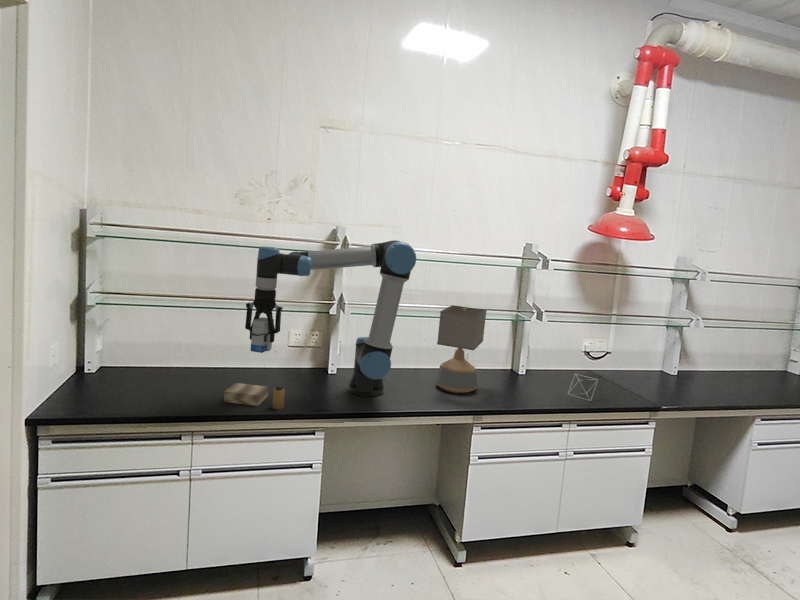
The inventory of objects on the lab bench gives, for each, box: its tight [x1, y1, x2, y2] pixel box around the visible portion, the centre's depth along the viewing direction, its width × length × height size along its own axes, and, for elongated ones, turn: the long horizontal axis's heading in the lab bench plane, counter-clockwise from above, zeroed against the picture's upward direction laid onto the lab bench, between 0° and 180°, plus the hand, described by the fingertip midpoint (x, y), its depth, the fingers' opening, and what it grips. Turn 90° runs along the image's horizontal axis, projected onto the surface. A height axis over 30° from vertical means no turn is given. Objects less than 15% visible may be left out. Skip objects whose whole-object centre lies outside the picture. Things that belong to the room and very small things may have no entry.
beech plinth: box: [223, 382, 269, 407], centre depth 204 cm, size 13×11×4 cm
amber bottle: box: [272, 384, 285, 410], centre depth 199 cm, size 4×4×8 cm
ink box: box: [249, 316, 275, 354], centre depth 202 cm, size 8×5×12 cm, turn 169°
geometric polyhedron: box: [567, 373, 599, 402], centre depth 247 cm, size 12×11×9 cm
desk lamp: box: [435, 304, 487, 394], centre depth 239 cm, size 22×19×37 cm
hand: (261, 349), depth 203 cm, fingers closed on ink box, 5 cm apart
